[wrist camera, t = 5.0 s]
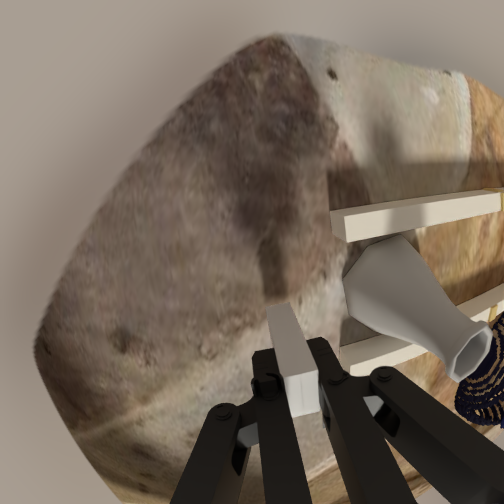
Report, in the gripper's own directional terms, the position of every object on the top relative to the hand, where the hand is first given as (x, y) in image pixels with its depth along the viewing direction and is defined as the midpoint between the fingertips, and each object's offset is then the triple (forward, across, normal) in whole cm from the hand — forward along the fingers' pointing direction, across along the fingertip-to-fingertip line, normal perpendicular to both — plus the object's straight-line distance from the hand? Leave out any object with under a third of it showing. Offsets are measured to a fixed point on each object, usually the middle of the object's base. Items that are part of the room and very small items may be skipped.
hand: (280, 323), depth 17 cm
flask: (+2, +8, 0) cm, 9 cm away
